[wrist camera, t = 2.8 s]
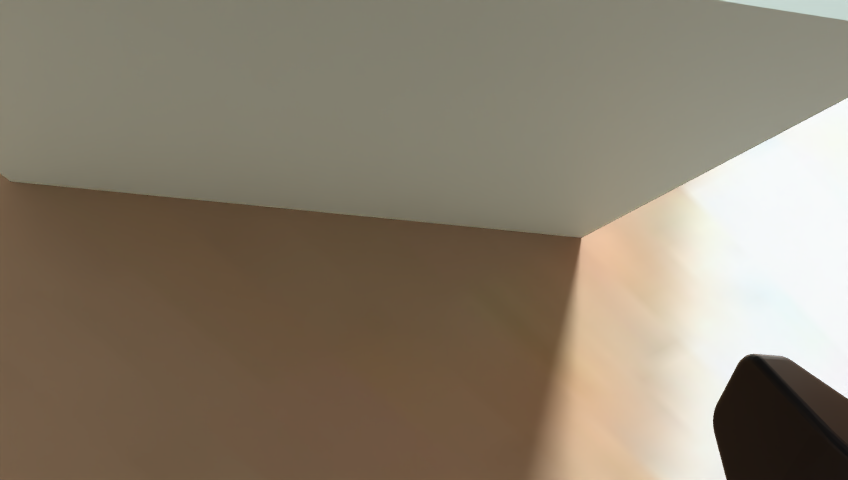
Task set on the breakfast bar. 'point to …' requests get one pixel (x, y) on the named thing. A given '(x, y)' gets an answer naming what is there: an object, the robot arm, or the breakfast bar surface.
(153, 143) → the grey-green slab
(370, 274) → the breakfast bar surface
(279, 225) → the breakfast bar surface
